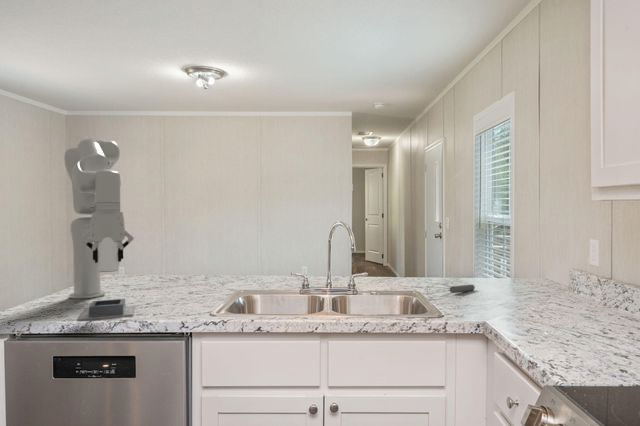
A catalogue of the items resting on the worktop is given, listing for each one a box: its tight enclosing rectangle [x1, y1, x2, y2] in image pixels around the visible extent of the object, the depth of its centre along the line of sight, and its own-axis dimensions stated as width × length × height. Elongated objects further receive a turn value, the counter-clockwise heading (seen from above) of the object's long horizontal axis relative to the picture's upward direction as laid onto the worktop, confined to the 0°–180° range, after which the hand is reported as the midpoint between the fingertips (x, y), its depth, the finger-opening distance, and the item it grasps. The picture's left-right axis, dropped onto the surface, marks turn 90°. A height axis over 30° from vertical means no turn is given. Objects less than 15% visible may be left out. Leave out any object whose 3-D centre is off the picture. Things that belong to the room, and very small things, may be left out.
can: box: [97, 235, 120, 273], centre depth 142 cm, size 6×6×12 cm
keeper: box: [76, 298, 136, 322], centre depth 142 cm, size 14×16×4 cm
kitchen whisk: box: [423, 282, 476, 301], centre depth 169 cm, size 6×34×6 cm, turn 131°
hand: (108, 261), depth 142 cm, fingers closed on can, 6 cm apart
